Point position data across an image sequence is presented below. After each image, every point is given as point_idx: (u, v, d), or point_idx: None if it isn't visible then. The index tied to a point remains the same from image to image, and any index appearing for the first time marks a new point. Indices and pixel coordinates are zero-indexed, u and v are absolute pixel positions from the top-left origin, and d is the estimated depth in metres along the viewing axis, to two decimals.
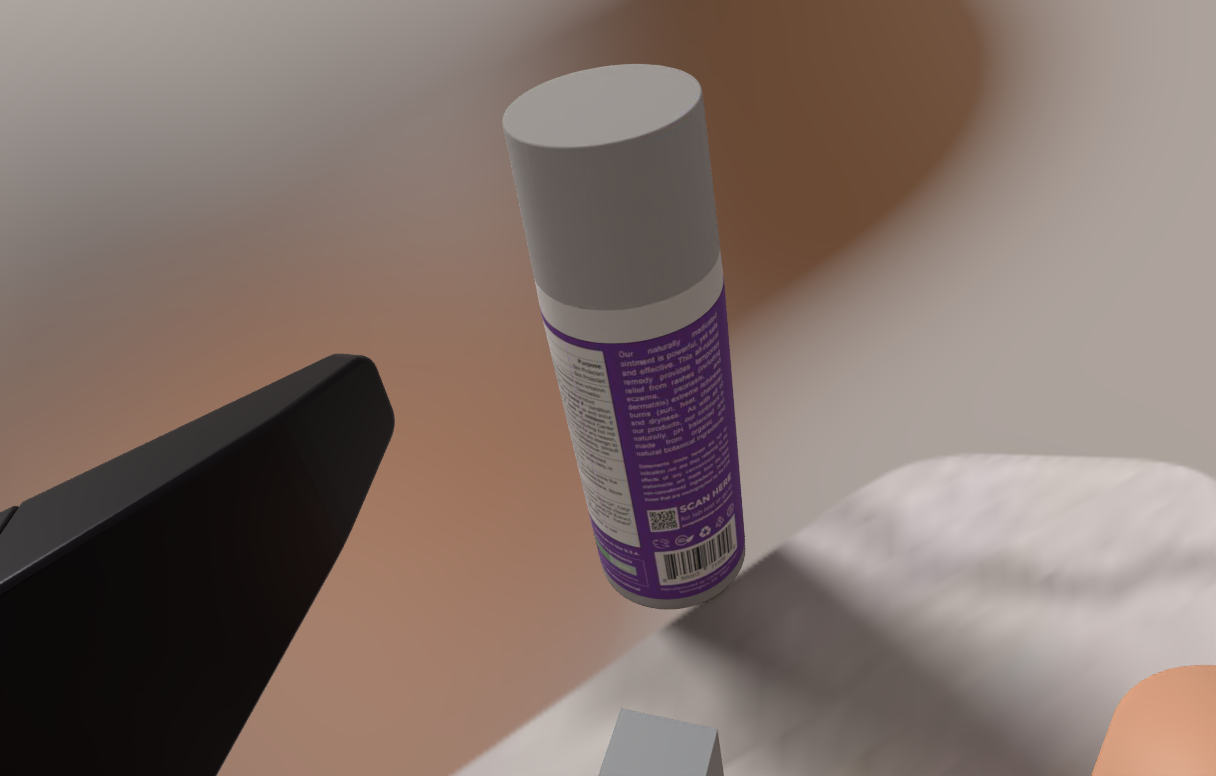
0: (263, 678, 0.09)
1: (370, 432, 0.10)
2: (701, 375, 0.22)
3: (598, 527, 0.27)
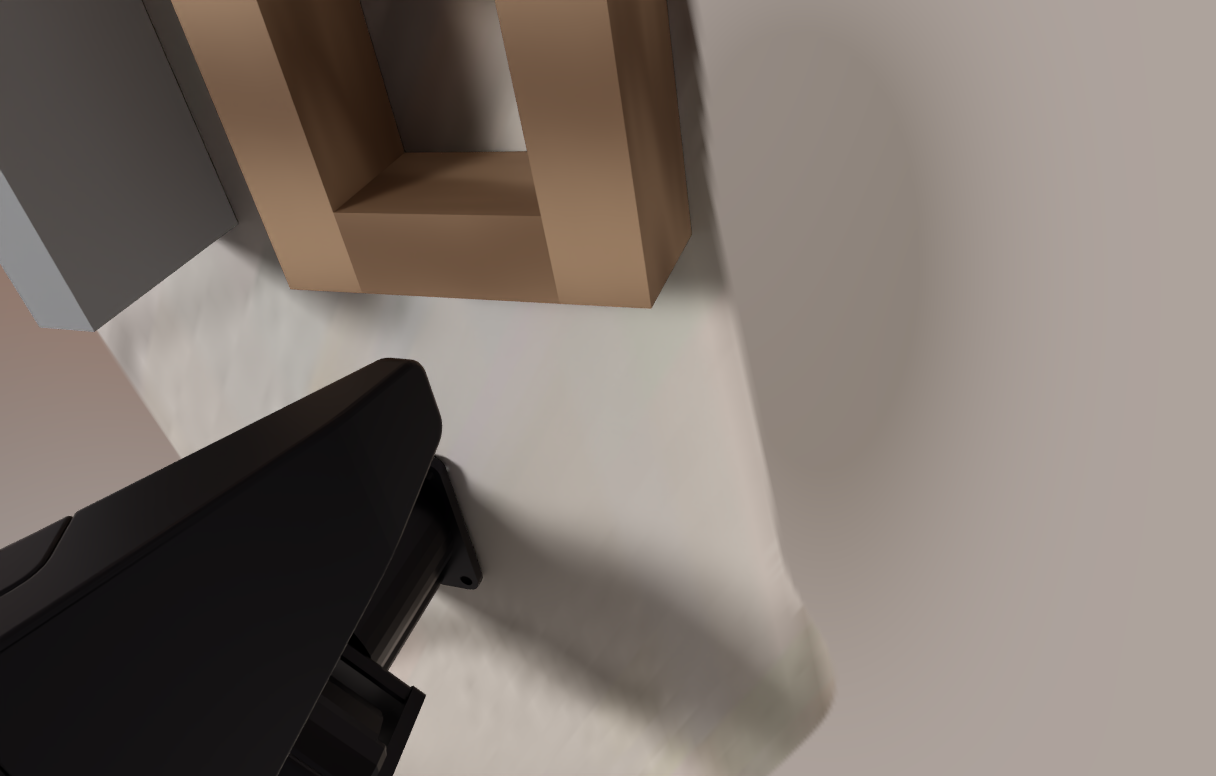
0: (315, 691, 0.09)
1: (419, 438, 0.10)
2: None
3: None
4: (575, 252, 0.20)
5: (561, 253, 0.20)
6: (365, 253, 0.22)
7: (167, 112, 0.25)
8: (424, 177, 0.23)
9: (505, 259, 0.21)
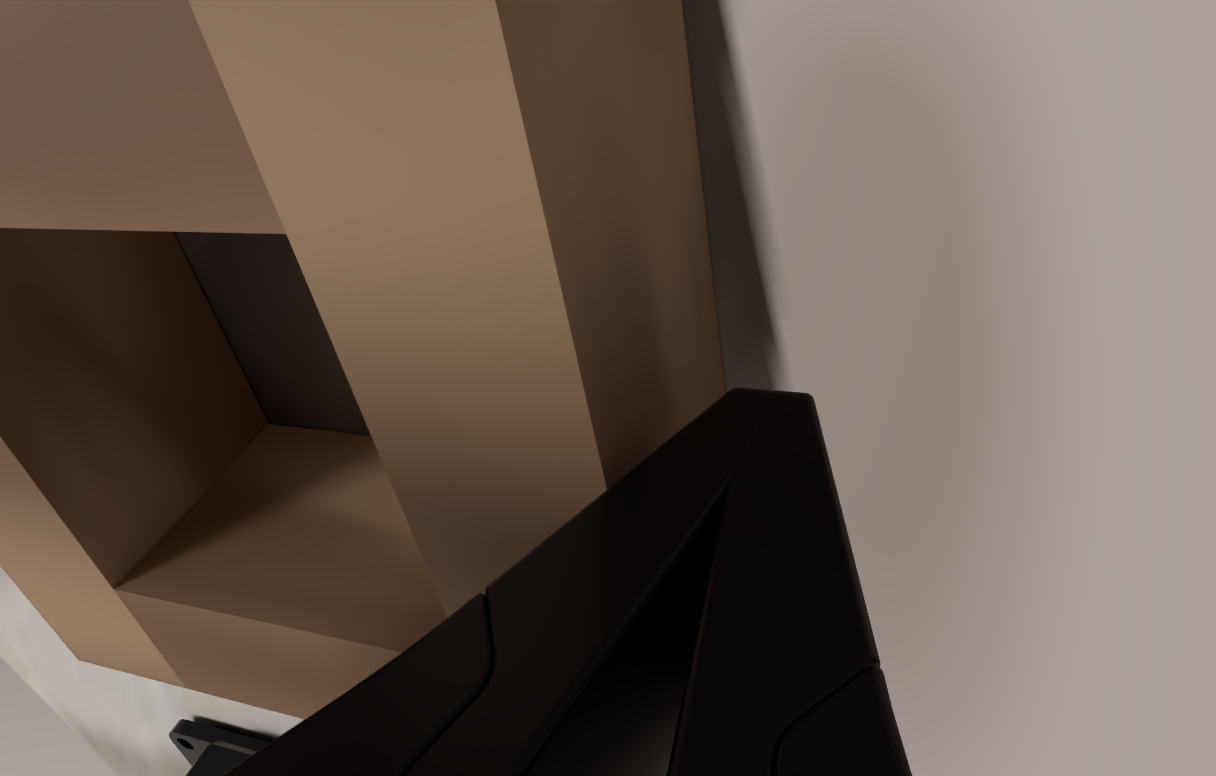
0: None
1: None
2: None
3: None
4: None
5: None
6: (178, 645, 0.13)
7: None
8: (285, 502, 0.13)
9: None
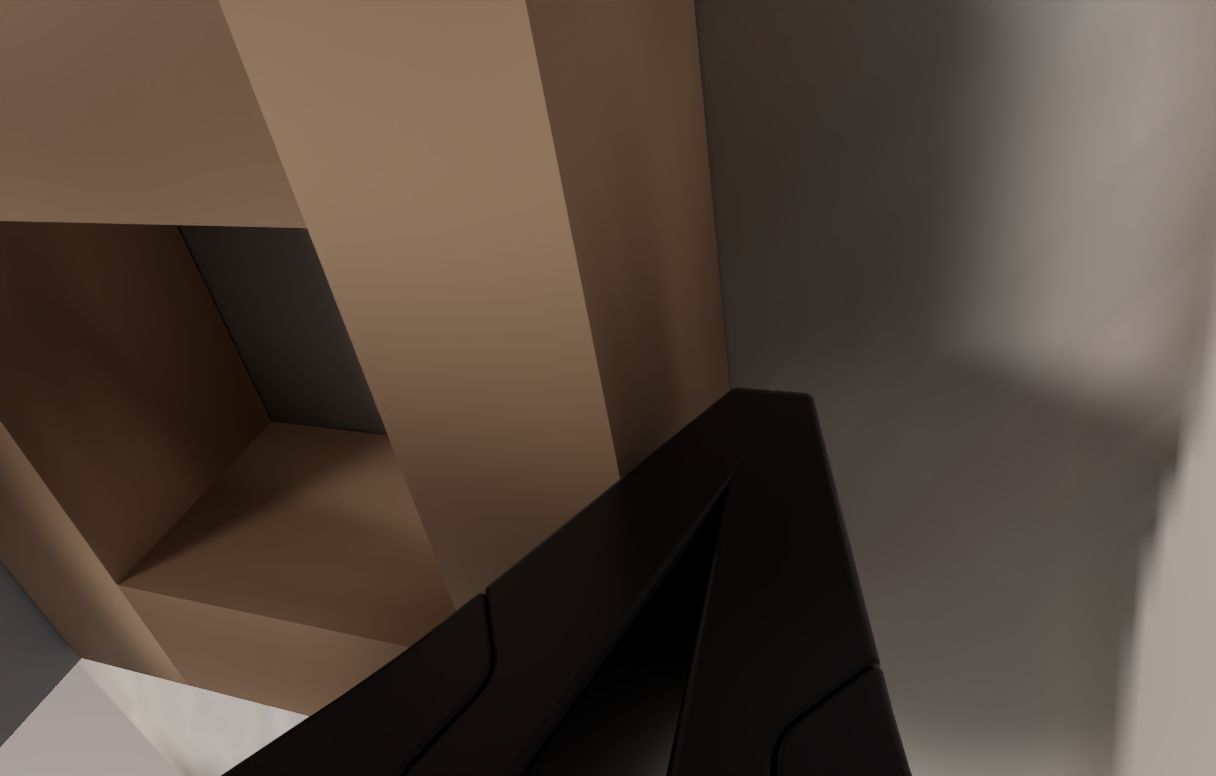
0: None
1: None
2: None
3: None
4: None
5: None
6: (181, 642, 0.13)
7: None
8: (289, 499, 0.13)
9: None
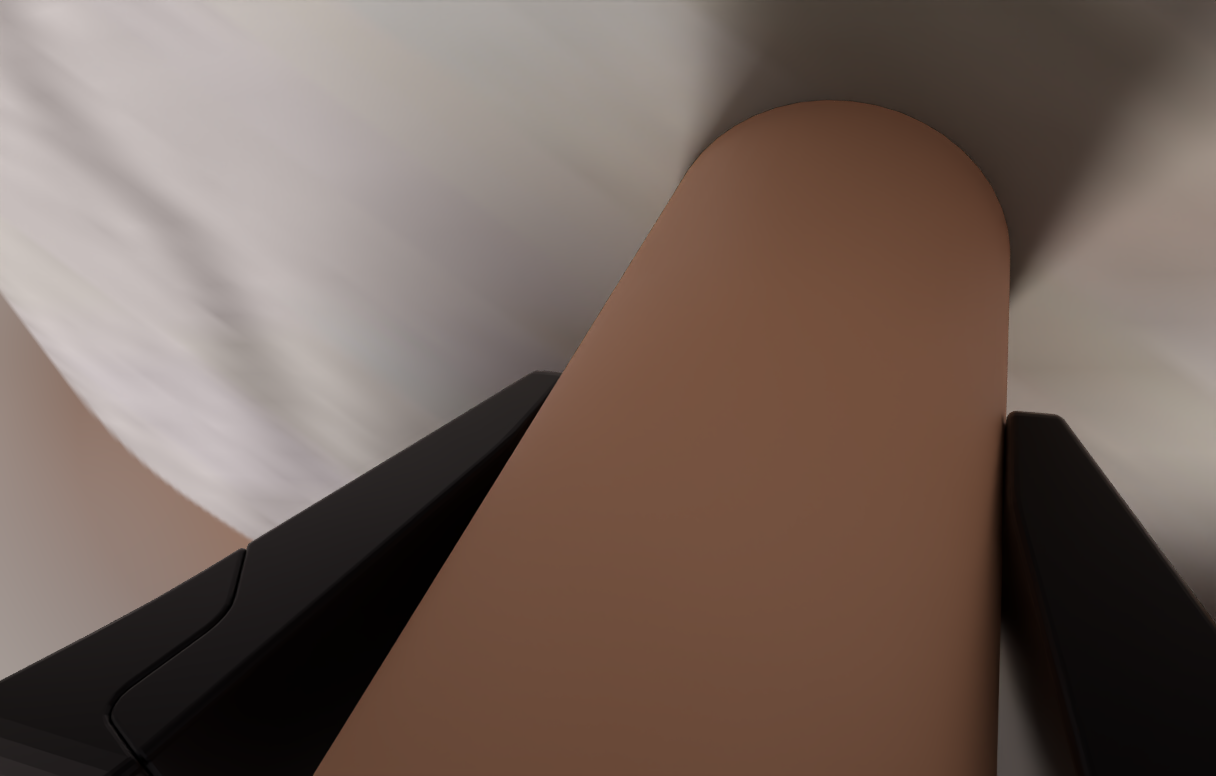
0: None
1: None
2: None
3: None
4: None
5: None
6: None
7: None
8: None
9: None
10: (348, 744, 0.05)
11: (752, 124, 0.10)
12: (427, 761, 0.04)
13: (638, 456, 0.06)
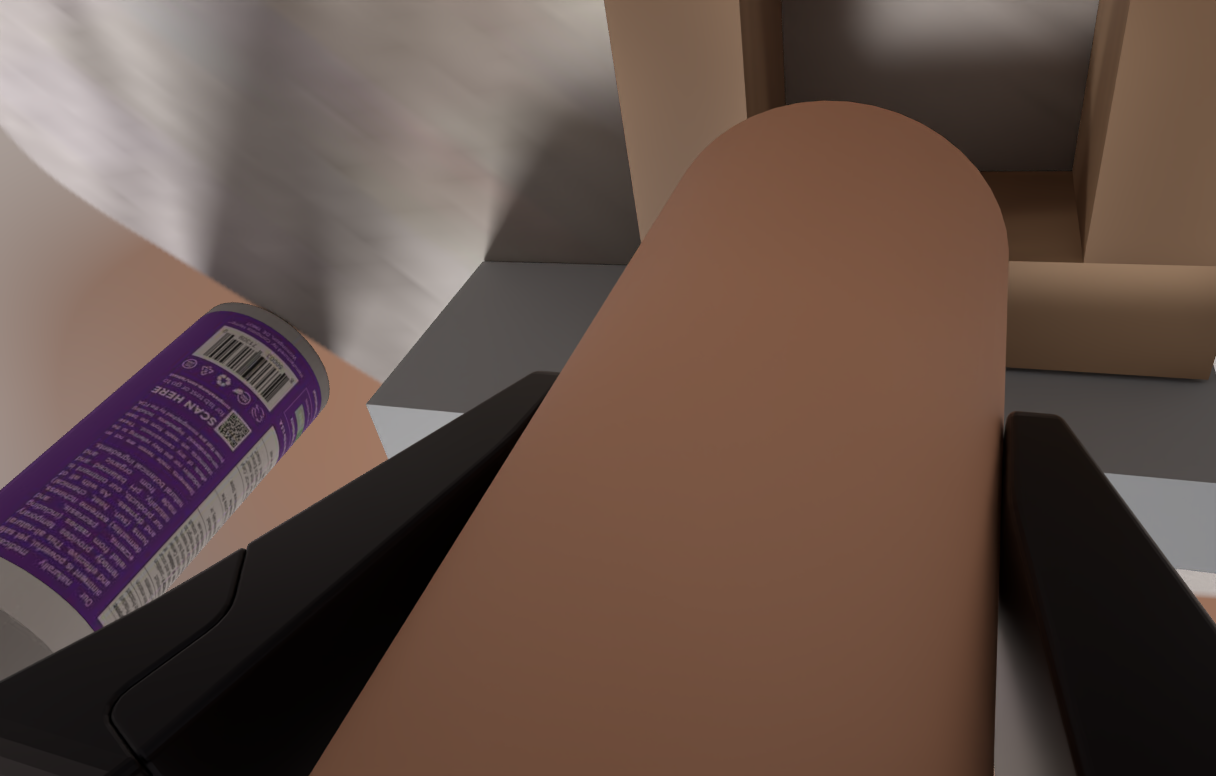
0: None
1: None
2: (64, 508, 0.22)
3: (277, 460, 0.28)
4: None
5: None
6: (1164, 236, 0.14)
7: None
8: (1089, 130, 0.16)
9: None
10: (342, 746, 0.05)
11: (750, 125, 0.10)
12: (420, 765, 0.04)
13: (634, 457, 0.06)
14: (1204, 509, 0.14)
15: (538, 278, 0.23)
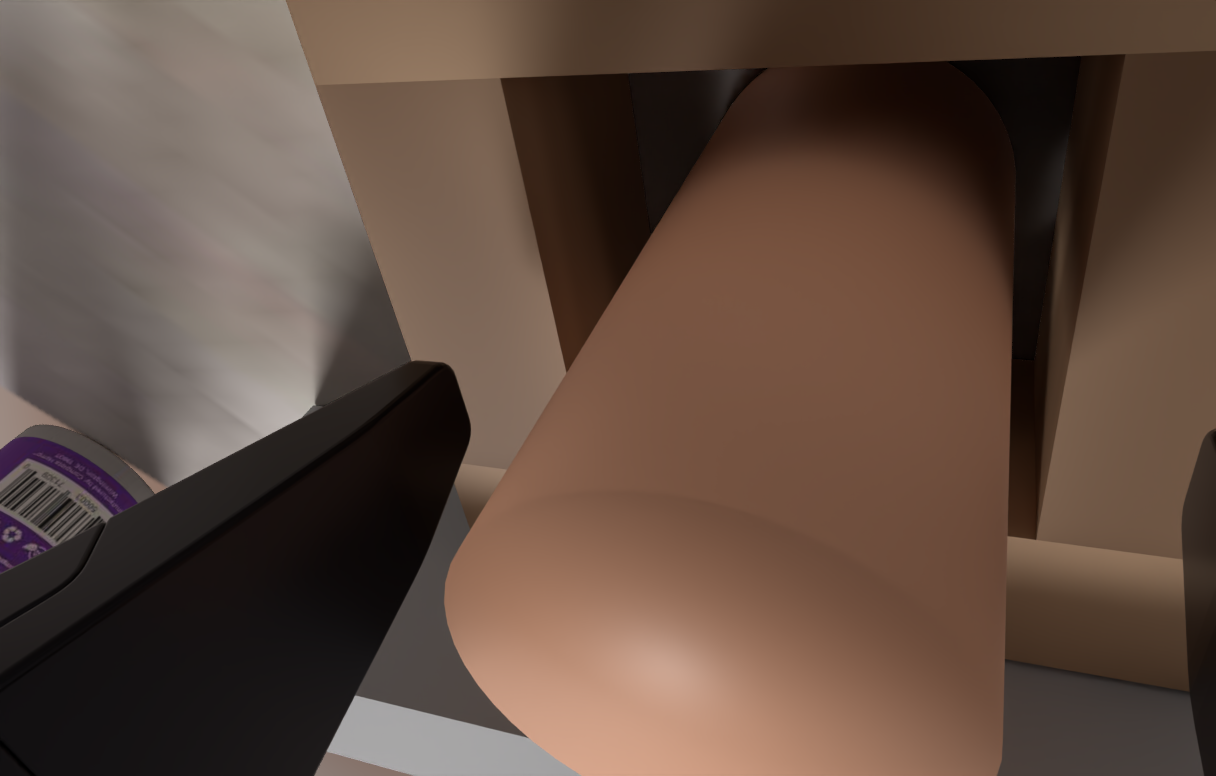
0: (346, 699, 0.09)
1: (449, 442, 0.10)
2: None
3: None
4: None
5: None
6: (1153, 520, 0.10)
7: None
8: (1050, 336, 0.11)
9: None
10: (505, 490, 0.06)
11: None
12: (582, 478, 0.06)
13: (720, 288, 0.07)
14: None
15: None
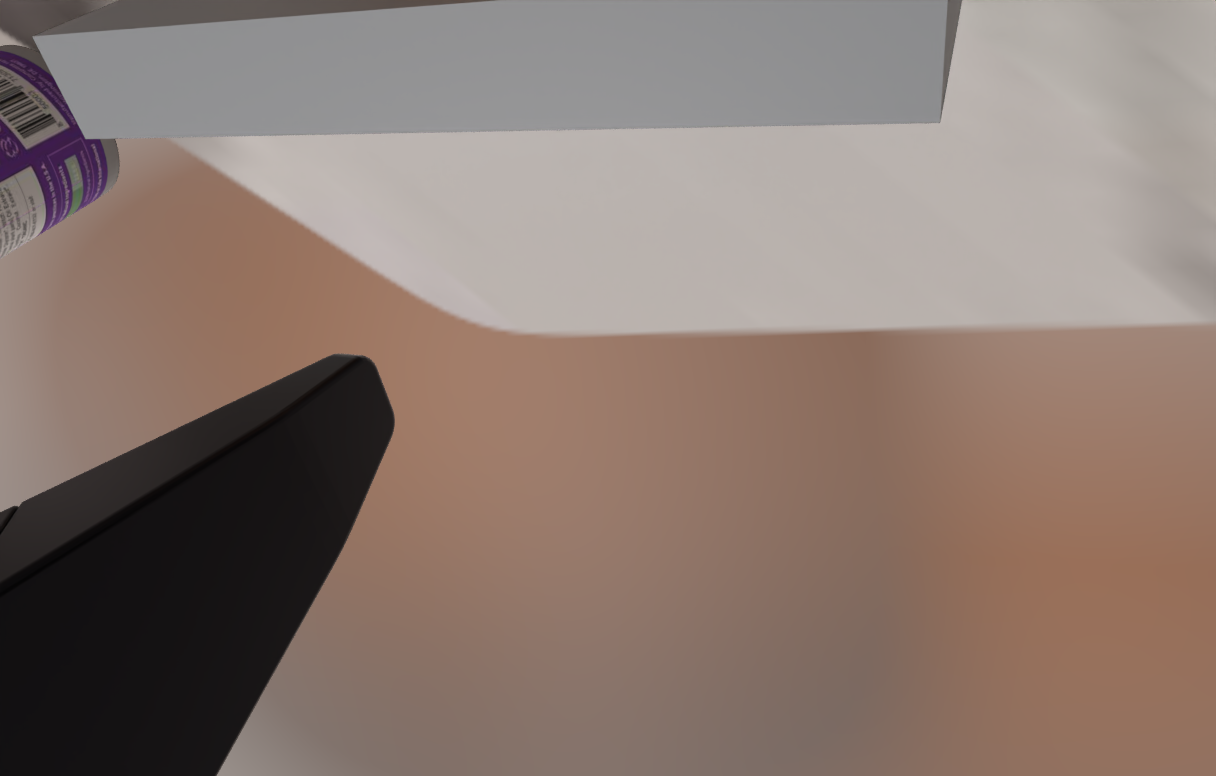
0: (263, 679, 0.09)
1: (370, 432, 0.10)
2: None
3: (46, 215, 0.25)
4: None
5: None
6: None
7: None
8: None
9: None
10: None
11: None
12: None
13: None
14: (909, 16, 0.12)
15: None
